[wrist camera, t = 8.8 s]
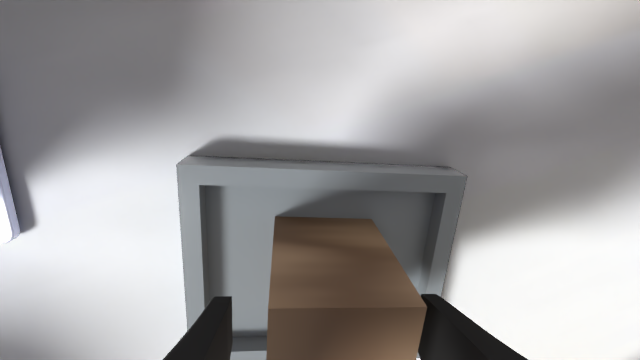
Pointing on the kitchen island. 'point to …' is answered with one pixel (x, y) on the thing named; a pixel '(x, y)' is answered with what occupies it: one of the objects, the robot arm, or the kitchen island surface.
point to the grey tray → (302, 201)
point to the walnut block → (339, 294)
